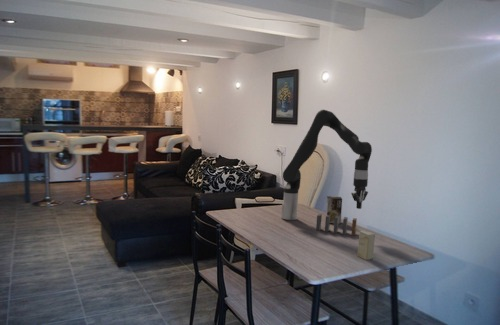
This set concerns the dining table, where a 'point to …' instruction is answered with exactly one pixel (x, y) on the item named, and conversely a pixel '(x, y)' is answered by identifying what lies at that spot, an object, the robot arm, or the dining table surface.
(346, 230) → the domino
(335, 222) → the domino
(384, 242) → the dining table surface
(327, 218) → the domino
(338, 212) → the coffee box
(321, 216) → the domino
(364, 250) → the skincare box
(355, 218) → the domino
